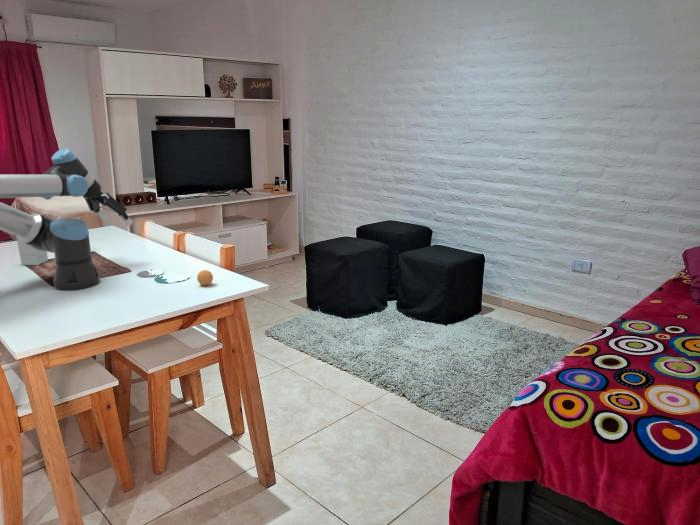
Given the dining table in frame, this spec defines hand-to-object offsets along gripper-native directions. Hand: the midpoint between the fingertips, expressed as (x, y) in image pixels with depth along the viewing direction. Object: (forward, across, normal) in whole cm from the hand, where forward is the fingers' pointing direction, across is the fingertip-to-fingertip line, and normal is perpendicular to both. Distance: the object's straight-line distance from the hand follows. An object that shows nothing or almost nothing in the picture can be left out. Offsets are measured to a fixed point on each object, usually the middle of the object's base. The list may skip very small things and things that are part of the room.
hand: (119, 223), depth 222 cm
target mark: (+9, -37, +16) cm, 41 cm away
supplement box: (+1, +30, +26) cm, 40 cm away
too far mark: (+9, -25, +16) cm, 31 cm away
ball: (+8, -54, +15) cm, 56 cm away
